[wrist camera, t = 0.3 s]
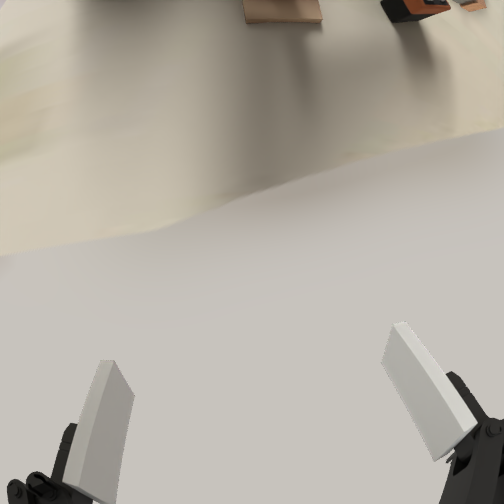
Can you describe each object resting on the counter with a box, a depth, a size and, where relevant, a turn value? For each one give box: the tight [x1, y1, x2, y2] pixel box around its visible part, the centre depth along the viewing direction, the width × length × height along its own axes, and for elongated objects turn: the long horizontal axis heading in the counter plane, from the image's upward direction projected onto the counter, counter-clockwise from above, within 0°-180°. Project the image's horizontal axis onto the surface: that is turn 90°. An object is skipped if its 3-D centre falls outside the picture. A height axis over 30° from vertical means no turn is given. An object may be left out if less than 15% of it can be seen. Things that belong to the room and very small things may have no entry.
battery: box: [381, 0, 451, 23], centre depth 21 cm, size 4×7×10 cm, turn 116°
